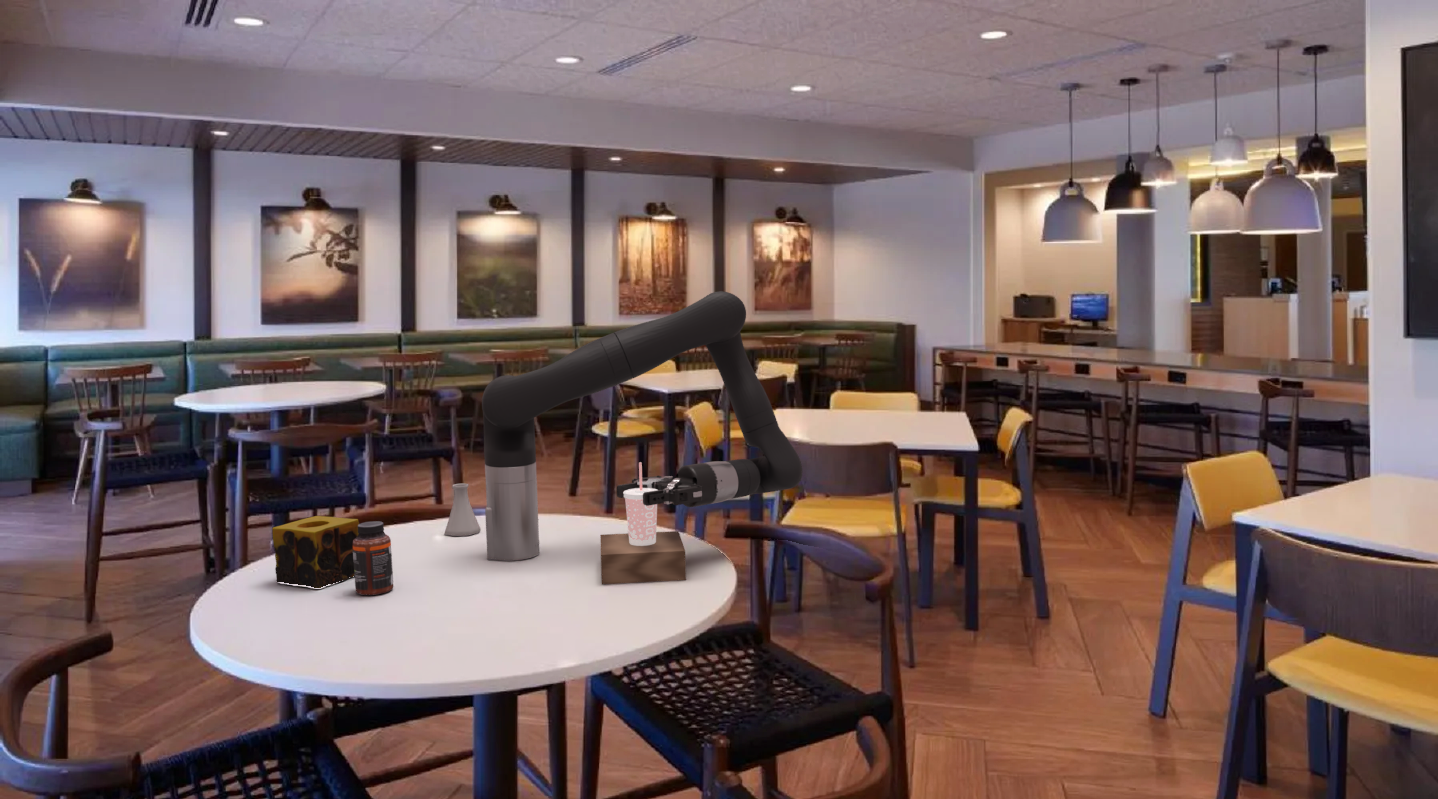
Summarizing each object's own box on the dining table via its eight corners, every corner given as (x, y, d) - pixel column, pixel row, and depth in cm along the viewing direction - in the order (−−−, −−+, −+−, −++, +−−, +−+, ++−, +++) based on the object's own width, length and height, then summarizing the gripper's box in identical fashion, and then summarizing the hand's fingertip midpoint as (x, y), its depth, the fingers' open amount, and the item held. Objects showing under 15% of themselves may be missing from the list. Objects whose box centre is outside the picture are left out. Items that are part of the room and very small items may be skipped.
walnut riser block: (601, 584, 164) (600, 554, 163) (601, 562, 178) (600, 534, 177) (685, 579, 166) (685, 550, 165) (679, 558, 179) (678, 531, 179)
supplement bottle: (401, 587, 164) (397, 520, 163) (378, 598, 159) (374, 528, 158) (371, 584, 166) (367, 518, 165) (347, 595, 161) (343, 526, 159)
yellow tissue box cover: (364, 575, 172) (361, 519, 171) (318, 591, 163) (315, 532, 162) (321, 569, 177) (318, 514, 176) (274, 584, 168) (270, 526, 167)
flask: (471, 537, 198) (469, 488, 197) (437, 536, 199) (435, 487, 198) (486, 529, 205) (484, 481, 204) (454, 528, 206) (451, 481, 205)
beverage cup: (631, 548, 167) (629, 466, 166) (620, 540, 173) (617, 461, 171) (665, 544, 170) (663, 463, 168) (652, 536, 175) (650, 458, 174)
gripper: (683, 458, 184) (608, 468, 174) (730, 467, 173) (652, 479, 163) (684, 497, 185) (609, 510, 175) (731, 510, 174) (654, 524, 164)
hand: (630, 495), depth 169 cm, fingers open, 8 cm apart
